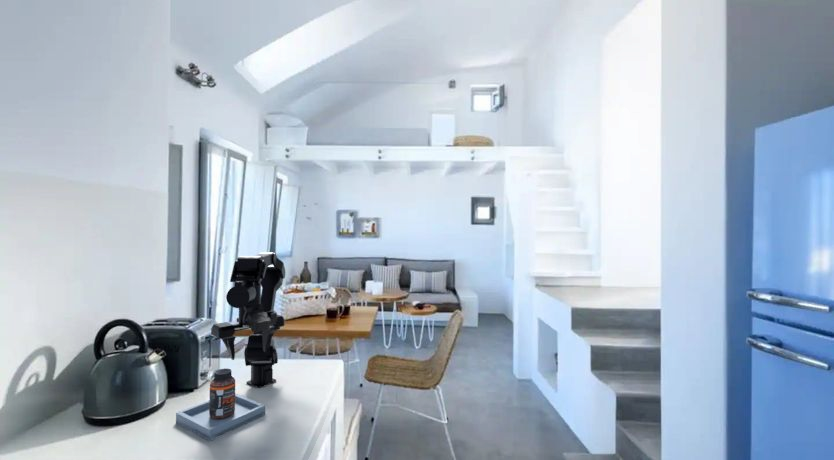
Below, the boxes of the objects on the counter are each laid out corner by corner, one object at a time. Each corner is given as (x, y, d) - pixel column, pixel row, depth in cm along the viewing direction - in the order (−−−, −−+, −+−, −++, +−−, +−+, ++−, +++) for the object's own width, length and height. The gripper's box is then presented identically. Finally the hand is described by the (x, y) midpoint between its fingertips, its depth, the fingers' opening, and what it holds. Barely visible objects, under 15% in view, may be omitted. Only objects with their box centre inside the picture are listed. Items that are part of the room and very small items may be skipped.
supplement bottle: (224, 421, 98) (225, 376, 98) (203, 418, 99) (204, 374, 99) (240, 410, 104) (240, 367, 104) (220, 407, 105) (220, 365, 105)
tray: (175, 422, 99) (176, 412, 99) (231, 400, 112) (231, 391, 112) (209, 440, 91) (210, 430, 91) (265, 414, 104) (265, 405, 104)
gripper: (228, 310, 99) (227, 372, 99) (294, 300, 113) (294, 354, 113) (210, 303, 106) (210, 361, 106) (275, 294, 120) (274, 345, 120)
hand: (249, 355), depth 111 cm, fingers open, 9 cm apart
